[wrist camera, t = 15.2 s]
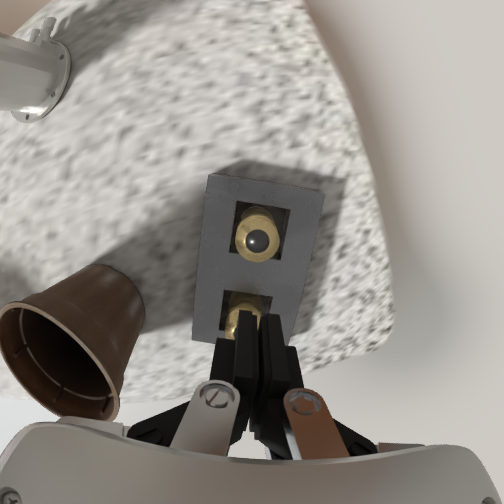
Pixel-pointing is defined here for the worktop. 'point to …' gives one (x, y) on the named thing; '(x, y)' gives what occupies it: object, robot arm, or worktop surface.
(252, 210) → the brass cylinder
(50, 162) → the worktop surface
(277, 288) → the jig
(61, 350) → the plant pot
